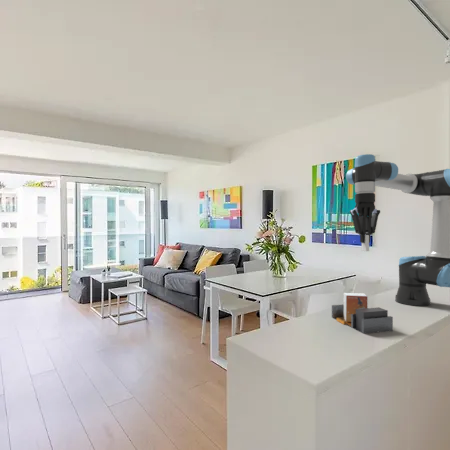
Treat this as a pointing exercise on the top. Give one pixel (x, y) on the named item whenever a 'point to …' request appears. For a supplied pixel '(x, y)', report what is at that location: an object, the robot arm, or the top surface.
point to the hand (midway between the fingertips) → (365, 250)
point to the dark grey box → (368, 315)
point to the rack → (364, 321)
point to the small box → (353, 304)
